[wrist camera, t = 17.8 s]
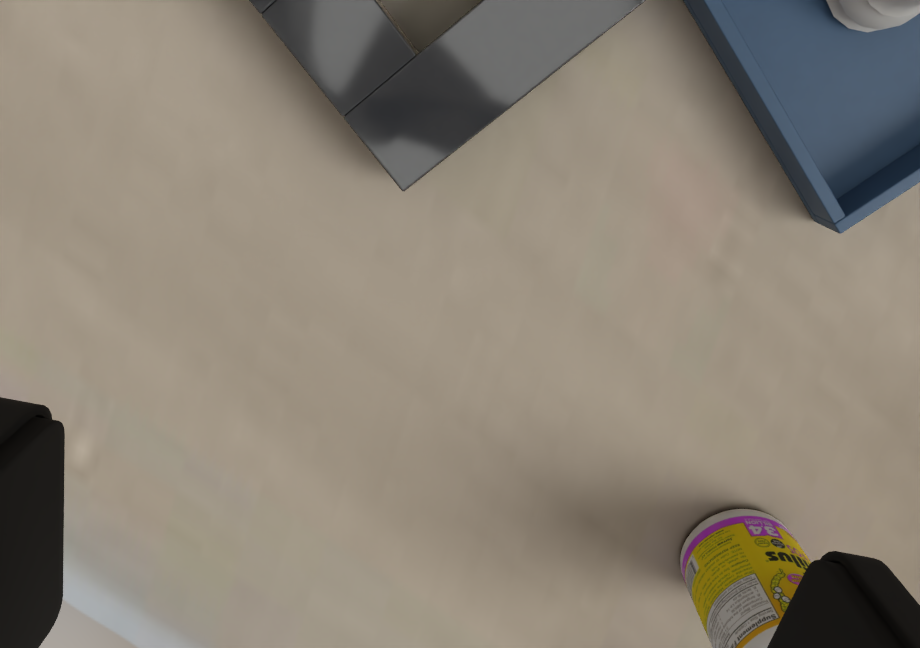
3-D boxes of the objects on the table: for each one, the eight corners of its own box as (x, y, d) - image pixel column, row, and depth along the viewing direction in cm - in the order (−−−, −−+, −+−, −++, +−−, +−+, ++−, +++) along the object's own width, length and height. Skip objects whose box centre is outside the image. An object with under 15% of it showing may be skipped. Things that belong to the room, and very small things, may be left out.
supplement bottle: (812, 547, 41) (959, 752, 29) (725, 611, 43) (829, 830, 31) (740, 482, 39) (863, 671, 27) (652, 552, 41) (732, 758, 29)
